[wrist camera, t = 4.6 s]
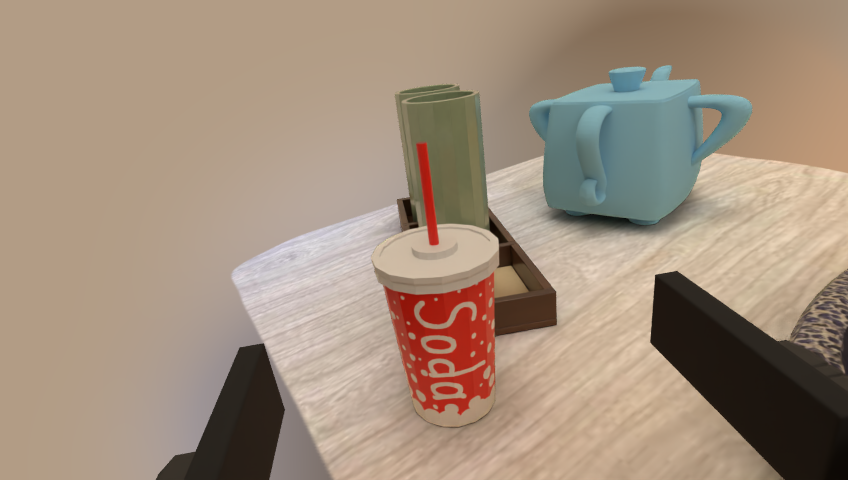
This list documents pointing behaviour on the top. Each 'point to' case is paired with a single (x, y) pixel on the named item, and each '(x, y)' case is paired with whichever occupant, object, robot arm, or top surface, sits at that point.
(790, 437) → the robot arm
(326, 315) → the top surface
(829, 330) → the dish
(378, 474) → the top surface
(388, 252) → the beverage cup
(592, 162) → the teapot
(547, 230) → the top surface
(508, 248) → the cup rack
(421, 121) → the cup
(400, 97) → the cup
